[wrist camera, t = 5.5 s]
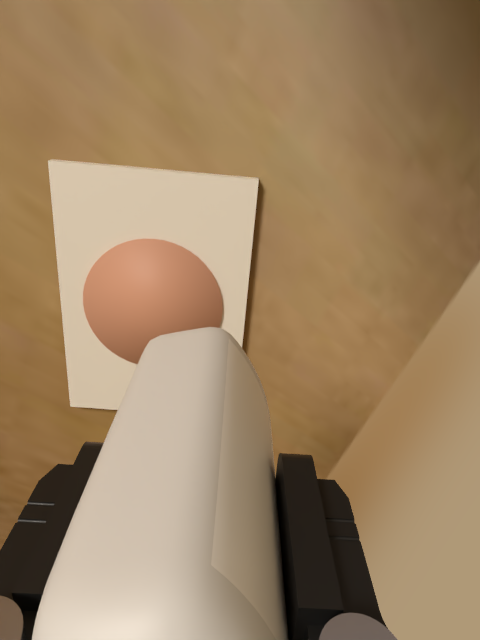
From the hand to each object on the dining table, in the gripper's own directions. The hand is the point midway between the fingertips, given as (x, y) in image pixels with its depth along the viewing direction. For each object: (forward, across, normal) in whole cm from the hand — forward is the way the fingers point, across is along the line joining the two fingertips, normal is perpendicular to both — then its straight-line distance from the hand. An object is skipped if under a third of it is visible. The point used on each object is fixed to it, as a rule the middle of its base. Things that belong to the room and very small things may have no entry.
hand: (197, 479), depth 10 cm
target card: (+20, +4, +4) cm, 21 cm away
